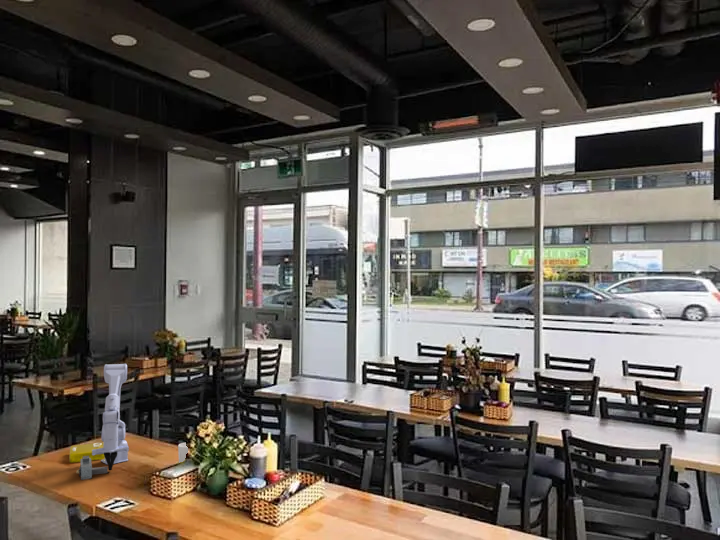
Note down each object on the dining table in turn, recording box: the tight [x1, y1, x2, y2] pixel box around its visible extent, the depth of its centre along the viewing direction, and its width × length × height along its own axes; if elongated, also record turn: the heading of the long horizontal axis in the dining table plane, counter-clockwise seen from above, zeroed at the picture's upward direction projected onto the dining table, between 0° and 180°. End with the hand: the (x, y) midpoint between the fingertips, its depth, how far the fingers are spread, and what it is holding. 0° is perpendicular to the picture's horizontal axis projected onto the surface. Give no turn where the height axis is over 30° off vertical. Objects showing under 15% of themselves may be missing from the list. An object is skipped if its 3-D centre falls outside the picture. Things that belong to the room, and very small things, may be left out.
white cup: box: [177, 442, 188, 464], centre depth 262 cm, size 8×8×10 cm
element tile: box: [68, 442, 105, 464], centre depth 274 cm, size 15×15×5 cm
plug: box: [76, 465, 109, 477], centre depth 251 cm, size 12×4×3 cm, turn 112°
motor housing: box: [80, 456, 93, 481], centre depth 249 cm, size 4×12×6 cm, turn 27°
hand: (110, 469), depth 254 cm, fingers closed
